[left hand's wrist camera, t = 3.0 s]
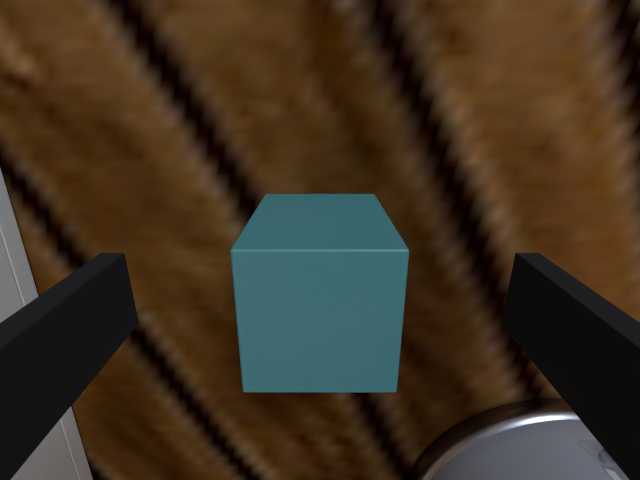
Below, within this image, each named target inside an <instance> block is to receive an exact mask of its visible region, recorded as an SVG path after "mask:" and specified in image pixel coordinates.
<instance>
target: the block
mask: <svg viewBox="0 0 640 480" xmlns="http://www.w3.org/2000/svg"><path fill="white" fill-rule="evenodd" d="M230 253H231V265H232V276H233V287H234V298H235V309H236V320H237V331H238V342H239V353H240V364H241V375H242V387H243V392H396V391H397V382H398V371H399V360H400V349H401V337H402V326H403V315H404V304H405V293H406V282H407V271H408V259H409V249H408V248H407V246H406V244H405V243H404V241H403V240H402V238H401V236H400V235H399V233H398V232H397V230H396V228H395V227H394V225H393V224H392V222H391V220H390V219H389V217H388V216H387V214H386V212H385V211H384V209H383V208H382V206H381V204H380V203H379V201H378V200H377V198H376V196H375V195H374V194H265V196H264V198H263V199H262V201H261V202H260V204H259V206H258V207H257V209H256V210H255V212H254V213H253V215H252V217H251V218H250V220H249V221H248V223H247V225H246V226H245V228H244V229H243V231H242V233H241V234H240V236H239V237H238V239H237V241H236V242H235V244H234V245H233V247H232V249H231V251H230Z"/></svg>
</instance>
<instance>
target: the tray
mask: <svg viewBox="0 0 640 480" xmlns="http://www.w3.org/2000/svg"><path fill="white" fill-rule="evenodd" d="M37 297H39V296H38V293H37V289H36V286H35V282H34V279H33V276H32V272H31V269H30V266H29V262H28V259H27V255H26V252H25V249H24V245H23V242H22V239H21V235H20V232H19V228H18V225H17V222H16V218H15V215H14V212H13V208H12V205H11V201H10V198H9V195H8V191H7V188H6V185H5V181H4V178H3V174H2V171H1V168H0V323H1V322H2V321H4V320H5V319H7V318H8V317H10V316H11V315H12V314H14V313H15V312H17V311H18V310H20V309H21V308H23V307H24V306H25V305H27V304H28V303H30V302H31V301H33V300H34V299H36V298H37ZM11 480H93V478H92V475H91V471H90V468H89V465H88V461H87V458H86V455H85V451H84V448H83V444H82V441H81V438H80V434H79V431H78V428H77V424H76V421H75V417H74V414H73V411H72V407H70V408H69V409H68V410H67V411H66V413H65V414H64V415H63V416H62V418H61V419H60V420H59V421H58V422H57V424H56V425H55V426H54V427H53V429H52V430H51V431H50V432H49V433H48V435H47V436H46V437H45V438H44V440H43V441H42V442H41V443H40V444H39V446H38V447H37V448H36V449H35V451H34V452H33V453H32V454H31V455H30V457H29V458H28V459H27V460H26V462H25V463H24V464H23V465H22V466H21V468H20V469H19V470H18V471H17V473H16V474H15V475H14V476H13V477H12V479H11Z"/></svg>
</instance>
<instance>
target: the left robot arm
mask: <svg viewBox="0 0 640 480" xmlns="http://www.w3.org/2000/svg"><path fill="white" fill-rule="evenodd" d="M138 324H139V322H138V317H137V312H136V308H135V303H134V298H133V293H132V288H131V283H130V278H129V274H128V269H127V264H126V259H125V254H124V253H101V254H99V255H98V256H96V257H95V258H93V259H92V260H91V261H89V262H88V263H86V264H85V265H83V266H82V267H80V268H79V269H78V270H76V271H75V272H73V273H72V274H70V275H69V276H67V277H66V278H65V279H63V280H62V281H60V282H59V283H57V284H56V285H54V286H53V287H52V288H50V289H49V290H47V291H46V292H44V293H43V294H41V295H40V296H39V297H37V298H36V299H34V300H33V301H31V302H30V303H28V304H27V305H25V306H24V307H23V308H21V309H20V310H18V311H17V312H15V313H14V314H12V315H11V316H10V317H8V318H7V319H5V320H4V321H2V322H1V323H0V480H11V479H12V477H13V476H14V475H15V474H16V473H17V471H18V470H19V469H20V468H21V466H22V465H23V464H24V463H25V462H26V460H27V459H28V458H29V457H30V455H31V454H32V453H33V452H34V451H35V449H36V448H37V447H38V446H39V444H40V443H41V442H42V441H43V440H44V438H45V437H46V436H47V435H48V433H49V432H50V431H51V430H52V429H53V427H54V426H55V425H56V424H57V422H58V421H59V420H60V419H61V418H62V416H63V415H64V414H65V413H66V411H67V410H68V409H69V408H70V407H71V405H72V404H73V403H74V402H75V400H76V399H77V398H78V397H79V396H80V394H81V393H82V392H83V391H84V389H85V388H86V387H87V386H88V385H89V383H90V382H91V381H92V380H93V378H94V377H95V376H96V375H97V374H98V372H99V371H100V370H101V369H102V368H103V366H104V365H105V364H106V363H107V361H108V360H109V359H110V358H111V357H112V355H113V354H114V353H115V352H116V350H117V349H118V348H119V347H120V346H121V344H122V343H123V342H124V341H125V339H126V338H127V337H128V336H129V335H130V333H131V332H132V331H133V330H134V328H135V327H136V326H137V325H138ZM501 324H502V325H503V326H504V327H505V328H506V330H507V331H508V332H509V333H510V335H511V336H512V337H513V338H514V339H515V341H516V342H517V343H518V344H519V346H520V347H521V348H522V349H523V350H524V352H525V353H526V354H527V355H528V357H529V358H530V359H531V360H532V361H533V363H534V364H535V365H536V366H537V368H538V369H539V370H540V371H541V372H542V374H543V375H544V376H545V377H546V378H547V380H548V381H549V382H550V383H551V385H552V386H553V387H554V388H555V389H556V391H557V392H558V393H559V394H560V396H561V397H562V398H547V399H534V400H527V401H521V402H516V403H511V404H507V405H504V406H500V407H497V408H494V409H491V410H489V411H486V412H483V413H481V414H479V415H477V416H475V417H472V418H470V419H469V420H467V421H465V422H463V423H461V424H460V425H458V426H457V427H455V428H454V429H452V430H451V431H449V432H448V433H447V434H445V435H444V436H443V437H441V438H440V439H439V440H438V441H437V442H436V443H435V444H434V445H433V446H432V447H431V448H430V449H429V450H428V451H427V452H426V453H425V455H424V456H423V457H422V459H421V460H420V462H419V463H418V465H417V467H416V468H415V470H414V472H413V474H412V477H411V479H410V480H640V323H639V322H638V321H636V320H635V319H633V318H632V317H630V316H629V315H628V314H626V313H625V312H623V311H622V310H620V309H619V308H617V307H616V306H615V305H613V304H612V303H610V302H609V301H607V300H606V299H604V298H603V297H601V296H600V295H599V294H597V293H596V292H594V291H593V290H591V289H590V288H588V287H587V286H586V285H584V284H583V283H581V282H580V281H578V280H577V279H575V278H574V277H573V276H571V275H570V274H568V273H567V272H565V271H564V270H562V269H561V268H560V267H558V266H557V265H555V264H554V263H552V262H551V261H549V260H548V259H547V258H545V257H544V256H542V255H541V254H539V253H516V254H515V259H514V264H513V269H512V274H511V278H510V283H509V288H508V293H507V298H506V303H505V308H504V312H503V317H502V322H501Z"/></svg>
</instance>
